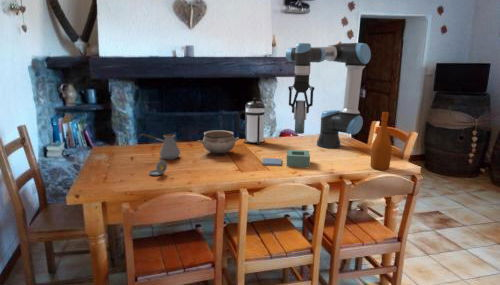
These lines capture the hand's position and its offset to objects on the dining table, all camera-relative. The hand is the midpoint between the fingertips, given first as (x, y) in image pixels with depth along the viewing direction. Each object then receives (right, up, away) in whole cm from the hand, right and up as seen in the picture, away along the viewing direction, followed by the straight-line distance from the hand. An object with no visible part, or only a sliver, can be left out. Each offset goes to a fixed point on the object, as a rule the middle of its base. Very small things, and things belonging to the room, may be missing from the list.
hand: (299, 119), depth 192 cm
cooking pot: (-45, -19, +24) cm, 54 cm away
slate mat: (-14, -23, +7) cm, 28 cm away
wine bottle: (+42, -26, +1) cm, 50 cm away
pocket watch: (-71, -28, -14) cm, 78 cm away
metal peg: (0, -7, +2) cm, 7 cm away
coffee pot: (-76, -21, +12) cm, 80 cm away
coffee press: (-25, -13, +51) cm, 58 cm away
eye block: (0, -24, +6) cm, 25 cm away
